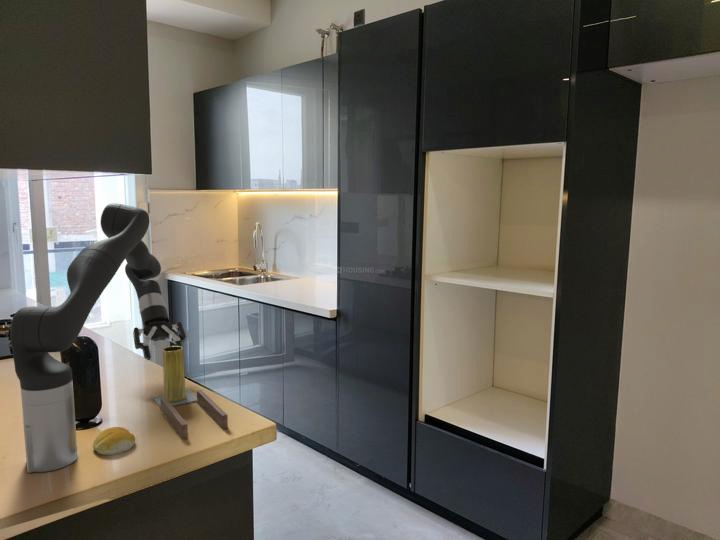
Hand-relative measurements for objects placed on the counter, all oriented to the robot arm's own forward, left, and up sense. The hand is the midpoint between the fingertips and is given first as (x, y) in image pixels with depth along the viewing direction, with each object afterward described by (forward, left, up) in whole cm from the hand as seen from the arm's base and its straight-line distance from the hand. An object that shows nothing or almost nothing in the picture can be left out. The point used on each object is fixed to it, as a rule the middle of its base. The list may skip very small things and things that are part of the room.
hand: (164, 356), depth 152 cm
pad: (0, -11, -9) cm, 15 cm away
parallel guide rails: (0, -27, -9) cm, 29 cm away
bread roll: (-19, -32, -10) cm, 38 cm away
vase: (-1, -11, -9) cm, 15 cm away
